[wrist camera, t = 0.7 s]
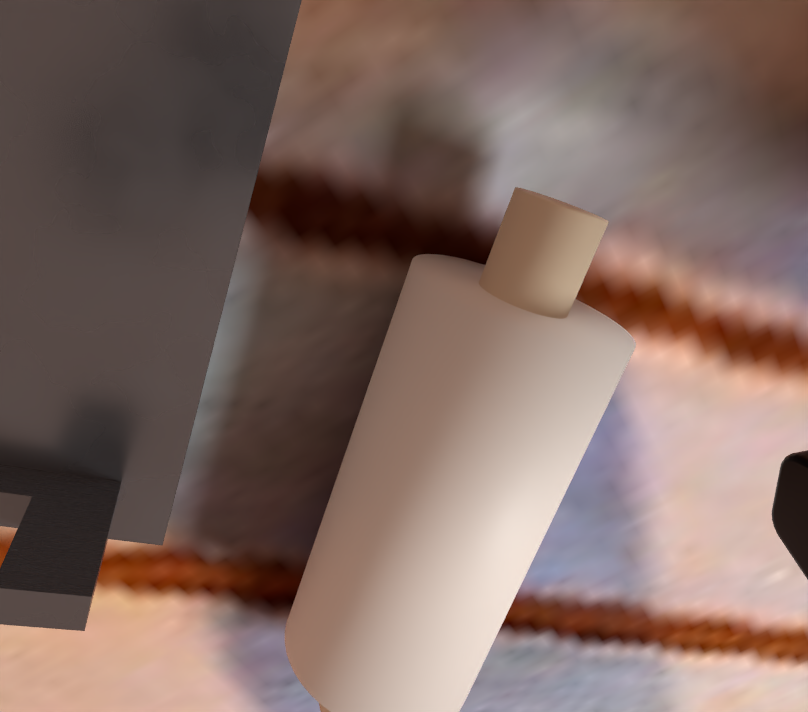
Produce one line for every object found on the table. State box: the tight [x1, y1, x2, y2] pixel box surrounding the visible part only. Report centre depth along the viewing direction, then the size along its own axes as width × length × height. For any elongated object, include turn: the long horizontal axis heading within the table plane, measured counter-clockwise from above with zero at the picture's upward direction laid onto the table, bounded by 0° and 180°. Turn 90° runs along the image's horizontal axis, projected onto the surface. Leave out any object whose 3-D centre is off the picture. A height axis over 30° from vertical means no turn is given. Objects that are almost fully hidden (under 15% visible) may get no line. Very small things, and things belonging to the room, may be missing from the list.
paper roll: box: [285, 187, 636, 712], centre depth 20 cm, size 17×6×6 cm, turn 162°
